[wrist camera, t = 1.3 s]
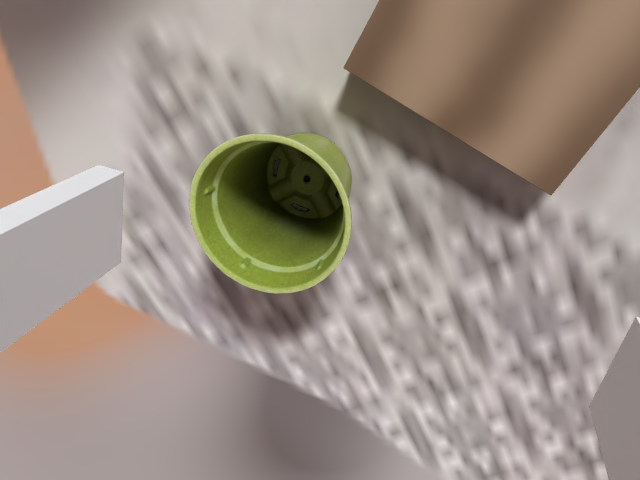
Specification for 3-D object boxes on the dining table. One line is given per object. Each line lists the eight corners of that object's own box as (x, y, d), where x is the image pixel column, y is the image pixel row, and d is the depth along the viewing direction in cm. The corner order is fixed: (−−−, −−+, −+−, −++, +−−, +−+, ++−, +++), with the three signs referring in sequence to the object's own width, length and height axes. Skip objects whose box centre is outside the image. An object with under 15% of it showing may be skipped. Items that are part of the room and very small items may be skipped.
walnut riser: (353, 62, 35) (343, 68, 33) (487, -185, 29) (488, -204, 26) (545, 180, 35) (551, 195, 32) (724, -43, 29) (748, -48, 26)
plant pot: (257, 90, 38) (199, 113, 30) (393, 128, 36) (369, 163, 28) (236, 215, 42) (180, 265, 34) (357, 254, 40) (328, 315, 33)
